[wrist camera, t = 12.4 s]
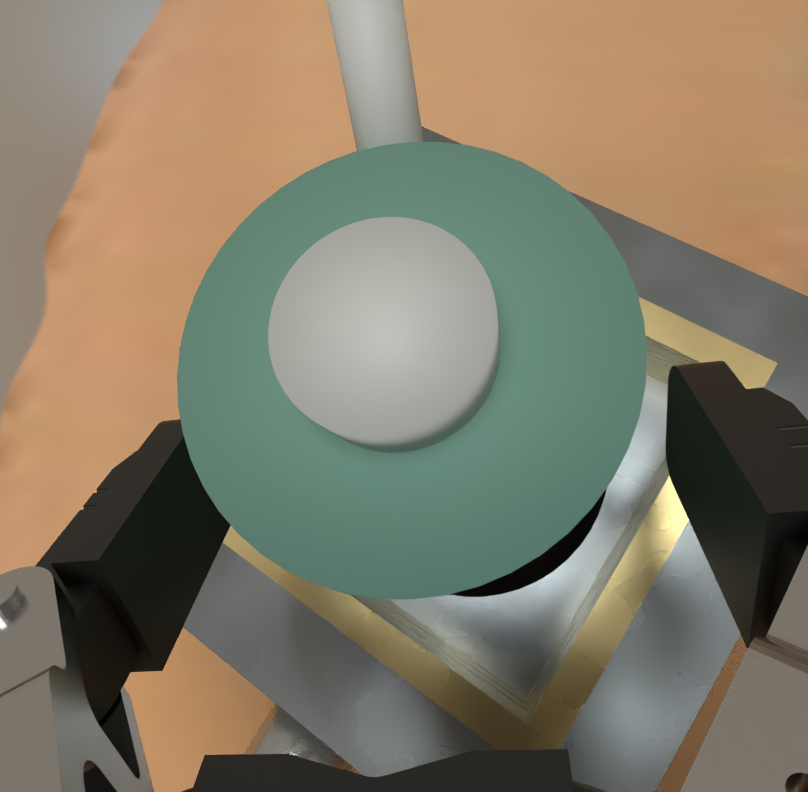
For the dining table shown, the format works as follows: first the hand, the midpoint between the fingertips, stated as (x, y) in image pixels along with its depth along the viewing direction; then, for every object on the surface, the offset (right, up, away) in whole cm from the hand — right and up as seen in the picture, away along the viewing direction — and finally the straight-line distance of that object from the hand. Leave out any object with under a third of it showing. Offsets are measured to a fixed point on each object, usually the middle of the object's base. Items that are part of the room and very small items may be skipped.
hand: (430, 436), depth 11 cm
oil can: (+1, 0, +7) cm, 7 cm away
